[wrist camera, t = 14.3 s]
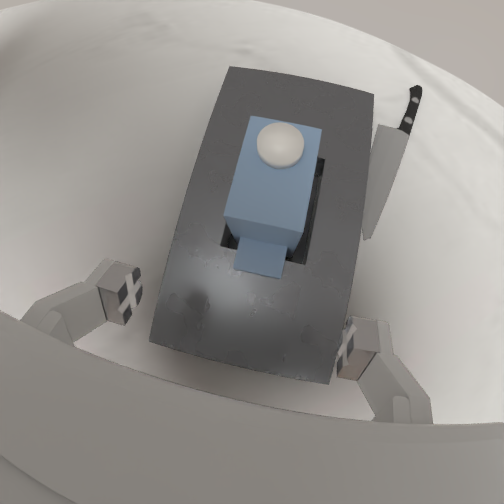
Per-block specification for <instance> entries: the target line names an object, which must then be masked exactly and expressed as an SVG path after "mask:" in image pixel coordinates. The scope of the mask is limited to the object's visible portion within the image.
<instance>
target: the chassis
mask: <svg viewBox="0 0 504 504" xmlns="http://www.w3.org/2000/svg"><path fill="white" fill-rule="evenodd" d="M373 105H374V94H372V93H368V92H365V91H361V90H357V89H353V88H349V87H345V86H341V85H337V84H333V83H329V82H324V81H320V80H315V79H310V78H305V77H300V76H294V75H289V74H283V73H277V72H270V71H263V70H256V69H248V68H240V67H229V69H228V72H227V74H226V77H225V80H224V82H223V85H222V88H221V90H220V93H219V96H218V98H217V101H216V104H215V107H214V110H213V112H212V115H211V118H210V121H209V124H208V127H207V130H206V133H205V135H204V138H203V141H202V144H201V147H200V150H199V154H198V157H197V160H196V163H195V166H194V169H193V172H192V176H191V179H190V182H189V185H188V189H187V192H186V195H185V199H184V202H183V205H182V209H181V212H180V216H179V219H178V223H177V226H176V230H175V234H174V237H173V241H172V245H171V249H170V252H169V256H168V260H167V264H166V268H165V272H164V276H163V280H162V284H161V288H160V292H159V296H158V301H157V305H156V309H155V314H154V318H153V323H152V328H151V332H150V337H149V342H152V343H155V344H158V345H162V346H165V347H168V348H171V349H175V350H178V351H182V352H185V353H189V354H192V355H196V356H199V357H203V358H207V359H211V360H214V361H218V362H222V363H226V364H230V365H234V366H238V367H242V368H247V369H251V370H255V371H260V372H265V373H269V374H274V375H279V376H284V377H289V378H294V379H299V380H304V381H310V382H316V383H322V384H328V385H329V382H330V378H331V375H332V371H333V367H334V363H335V359H336V355H337V347H338V341H339V338H340V335H341V333H342V329H343V325H344V320H345V316H346V311H347V306H348V301H349V296H350V291H351V286H352V281H353V275H354V270H355V264H356V258H357V252H358V246H359V240H360V233H361V227H362V220H363V212H364V205H365V197H366V189H367V180H368V170H369V160H370V149H371V137H372V123H373ZM251 116H256V117H262V118H268V119H274V120H279V121H284V122H290V123H295V124H300V125H304V126H309V127H314V128H318V129H322V132H321V138H320V144H319V150H318V156H317V161H316V167H315V173H314V175H319V179H318V185H317V190H316V196H315V201H314V207H313V212H312V217H311V223H310V228H309V233H308V238H307V243H306V248H305V253H304V258H303V263H302V264H298V263H294V262H289V261H285V262H284V266H283V271H282V275H281V279H275V278H271V277H266V276H262V275H258V274H253V273H249V272H244V271H240V270H235V269H233V265H234V261H235V257H236V253H237V250H235V249H230V248H227V247H228V243H229V239H230V235H231V231H230V229H229V227H228V224H227V222H226V220H225V218H224V216H223V215H224V211H225V207H226V203H227V199H228V196H229V192H230V188H231V185H232V181H233V177H234V173H235V170H236V166H237V163H238V159H239V155H240V152H241V148H242V145H243V141H244V138H245V134H246V131H247V127H248V124H249V120H250V117H251Z"/></svg>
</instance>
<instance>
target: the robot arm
mask: <svg viewBox="0 0 504 504" xmlns="http://www.w3.org/2000/svg"><path fill="white" fill-rule="evenodd" d="M140 276H141V274H140V269H139V268H138V267H135V266H131V265H128V264H124V263H121V262H118V261H113V260H110V259H104V260H103V261H102V262H101V263H100V264H99V265H98V267H97V268H96V269H95V270H94V271H93V273H92V274H91V275H90V276H89V277H88V279H87V280H86V281H85V282H80V283H77V284H75V285H73V286H70V287H68V288H66V289H63V290H61V291H59V292H56V293H54V294H52V295H49V296H47V297H45V298H43V299H40V300H38V301H36V302H35V303H34V304H33V305H32V306H31V308H30V309H29V310H28V311H27V313H26V314H25V315H24V316H23V317H22V319H21V320H20V321H19V320H18V319H16V318H14V317H12V316H10V315H8V314H6V313H4V312H3V311H1V310H0V504H504V423H502V422H494V423H478V424H433V419H432V411H431V403H430V398H429V396H428V395H427V394H426V392H425V391H424V390H423V388H422V387H421V386H420V385H419V383H418V382H417V381H416V379H415V378H414V377H413V376H412V374H411V373H410V372H409V370H408V369H407V368H406V367H405V365H404V364H403V363H402V362H401V360H400V359H399V358H398V357H397V356H396V355H393V348H392V341H391V335H390V328H389V323H388V322H386V321H380V320H374V319H368V318H362V317H357V316H350V317H349V318H348V320H347V322H346V329H344V330H342V333H341V335H340V338H339V341H338V347H337V354H338V355H339V357H340V358H339V360H338V362H337V377H339V378H344V379H350V380H356V381H357V383H358V384H359V386H360V388H361V390H362V392H363V394H364V395H365V397H366V399H367V401H368V403H369V405H370V407H371V408H372V410H373V412H374V414H375V416H376V417H375V418H374V419H373V420H372V421H363V420H353V419H344V418H336V417H328V416H321V415H314V414H307V413H301V412H295V411H289V410H284V409H278V408H273V407H268V406H263V405H258V404H253V403H249V402H244V401H240V400H236V399H231V398H227V397H223V396H219V395H215V394H211V393H208V392H204V391H200V390H197V389H193V388H189V387H186V386H183V385H179V384H176V383H173V382H169V381H166V380H163V379H160V378H157V377H154V376H151V375H148V374H145V373H142V372H139V371H136V370H133V369H130V368H128V367H125V366H122V365H119V364H117V363H114V362H111V361H109V360H106V359H104V358H101V357H98V356H96V355H93V354H91V353H89V352H86V351H84V350H81V349H79V348H77V347H75V346H74V342H75V341H77V340H78V339H80V338H81V337H83V336H85V335H86V334H88V333H89V332H91V331H92V330H94V329H96V328H97V327H99V326H100V325H102V324H103V323H105V322H107V321H111V322H114V323H117V324H120V325H124V326H125V325H126V323H127V322H128V320H129V318H130V317H131V315H132V311H131V309H133V308H135V307H137V305H138V304H139V302H140V299H141V296H142V284H141V282H140V281H139V280H138V279H139V278H140Z"/></svg>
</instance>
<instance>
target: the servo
mask: <svg viewBox="0 0 504 504" xmlns="http://www.w3.org/2000/svg"><path fill="white" fill-rule="evenodd" d="M321 132H322V129H318V128H314V127H309V126H304V125H300V124H295V123H290V122H284V121H279V120H274V119H268V118H262V117H256V116H251V117H250V120H249V124H248V127H247V131H246V134H245V138H244V141H243V145H242V148H241V152H240V155H239V159H238V163H237V166H236V170H235V173H234V177H233V181H232V185H231V188H230V192H229V196H228V199H227V203H226V207H225V211H224V215H223V216H224V218H225V220H226V222H227V224H228V227H229V229H230V231H231V233H232V235H233V237H234V239H235V241H236V243H237V246H238V249H237V253H236V257H235V261H234V265H233V269H235V270H240V271H244V272H249V273H253V274H258V275H262V276H266V277H271V278H275V279H281V275H282V271H283V266H284V262H285V257H290V258H291V257H292V255H293V253H294V251H295V249H296V247H297V245H298V242H299V240H300V238H301V236H302V234H303V231H304V226H305V221H306V216H307V210H308V205H309V200H310V195H311V189H312V184H313V178H314V173H315V167H316V161H317V156H318V150H319V144H320V138H321Z"/></svg>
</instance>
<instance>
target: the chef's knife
mask: <svg viewBox="0 0 504 504" xmlns="http://www.w3.org/2000/svg"><path fill="white" fill-rule="evenodd" d="M410 91H411V96H410V102H409V105H408V108H407V111H406V113H405V115H404V118H403V120H402V122H401V125H400V127H399V128H397V129H395V128H391V127H387V126H383V125H379V124H378V127H377V131H376V135H375V138H374V142H373V146H372V149H371V153H370V160H369V170H368V180H367V189H366V197H365V205H364V212H363V220H362V233H363V239H364V240H366V239H368V238H371V236H372V234H373V231H374V229H375V227H376V224H377V222H378V220H379V217H380V215H381V212H382V210H383V207H384V205H385V202H386V200H387V197H388V195H389V192H390V190H391V187H392V184H393V182H394V179H395V176H396V173H397V171H398V168H399V165H400V162H401V159H402V157H403V154H404V151H405V148H406V145H407V142H408V139H409V135H410V132H411V129H412V126H413V122H414V119H415V116H416V113H417V109H418V106H419V103H420V99H421V96H422V87H420V86H419V85H416V86H414V87H412V88H410Z"/></svg>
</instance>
